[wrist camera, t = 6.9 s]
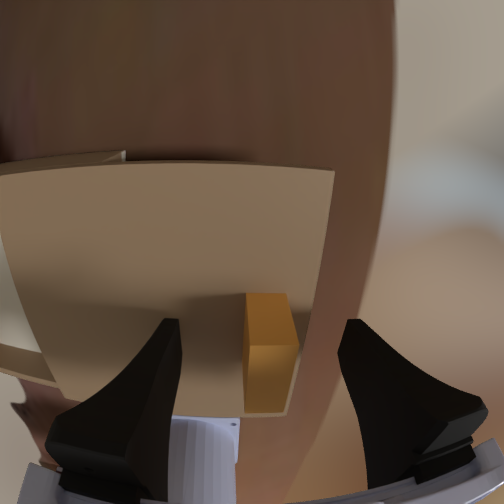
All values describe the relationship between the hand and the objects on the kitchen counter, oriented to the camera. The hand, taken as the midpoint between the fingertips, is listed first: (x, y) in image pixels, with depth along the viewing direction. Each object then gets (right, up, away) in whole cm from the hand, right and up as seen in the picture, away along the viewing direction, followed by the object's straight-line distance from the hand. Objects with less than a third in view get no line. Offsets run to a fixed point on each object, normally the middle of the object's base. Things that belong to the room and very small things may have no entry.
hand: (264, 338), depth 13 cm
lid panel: (-5, +1, +1) cm, 5 cm away
